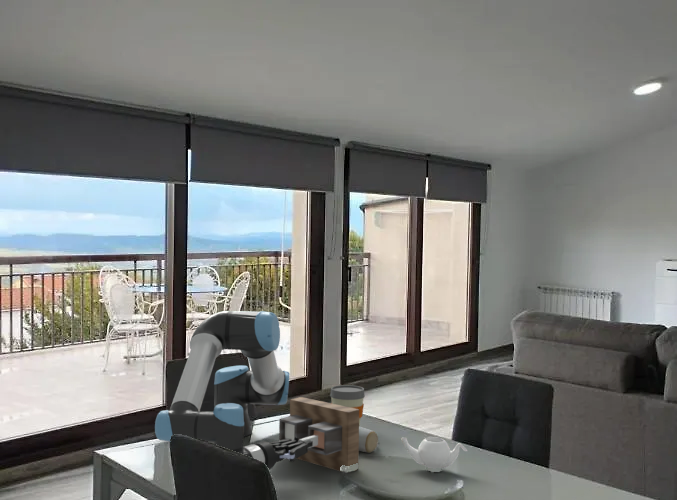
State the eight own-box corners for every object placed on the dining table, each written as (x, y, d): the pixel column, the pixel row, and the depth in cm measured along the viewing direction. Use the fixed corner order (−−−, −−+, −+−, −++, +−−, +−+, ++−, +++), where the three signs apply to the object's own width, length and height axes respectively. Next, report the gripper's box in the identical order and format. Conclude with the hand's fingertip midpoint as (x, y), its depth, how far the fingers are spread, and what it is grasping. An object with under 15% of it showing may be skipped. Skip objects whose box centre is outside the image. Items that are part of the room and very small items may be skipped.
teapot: (468, 477, 200) (468, 446, 200) (399, 473, 203) (399, 441, 203) (467, 467, 209) (467, 437, 209) (401, 463, 212) (401, 433, 212)
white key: (284, 438, 210) (285, 422, 210) (293, 435, 214) (294, 419, 214) (296, 441, 207) (296, 425, 207) (305, 438, 210) (305, 422, 210)
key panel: (273, 461, 212) (274, 403, 212) (300, 452, 221) (301, 397, 221) (332, 479, 196) (333, 416, 196) (358, 469, 205) (359, 409, 205)
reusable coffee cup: (332, 424, 257) (333, 384, 257) (365, 426, 255) (366, 385, 255) (327, 433, 245) (327, 391, 244) (362, 435, 243) (362, 392, 243)
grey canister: (366, 455, 219) (367, 431, 219) (345, 451, 224) (346, 427, 224) (384, 449, 227) (385, 425, 228) (364, 444, 232) (364, 421, 232)
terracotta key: (313, 446, 203) (313, 429, 203) (322, 443, 206) (322, 426, 206) (326, 449, 199) (326, 432, 199) (335, 446, 203) (335, 429, 202)
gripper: (239, 467, 186) (299, 448, 204) (273, 478, 177) (333, 457, 195) (240, 439, 186) (300, 423, 204) (274, 449, 177) (333, 431, 195)
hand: (316, 440), depth 200 cm, fingers closed
